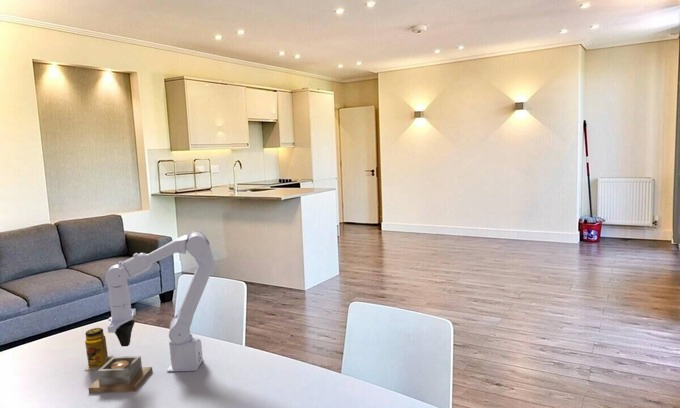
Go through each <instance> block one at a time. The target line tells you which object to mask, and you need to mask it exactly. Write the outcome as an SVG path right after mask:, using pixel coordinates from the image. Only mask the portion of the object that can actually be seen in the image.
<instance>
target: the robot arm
mask: <svg viewBox="0 0 680 408" xmlns="http://www.w3.org/2000/svg"><path fill="white" fill-rule="evenodd" d="M187 252H188V254H190V255H191V256H192V257H193V258H194V259H195V261H196V263H197V267H196V269H195V271H194V274H193V277H192V279H191V281H190V284H189V286H188V289H187V290H186V293H185V296H184V298H183V301H182V303H181V305H180V308H179V310H178V311H177V313H176V315H175V316H174V317H173V318H172V319H171V320H170V322H169V332H168V338H169V339H168V343H169V345H168V346H169V355H170V365H169V367H168V368H167V370H166V372H168V373H169V372H193V371H197V370H198V369H199V367H200V365H201V364H202V363H203V361H205V359H204V357H203V348H202V347H203V346H202V341H201V339H200V338H194V337H193V334H191V331H190V330H191V325H192V323H193V318H194V315H195V313H196V310H197V308H198V305H199V302H200V301H201V297H202V295H203V293H204V291H205V288H206V286H207V283H208V281H209V278H210V276H211V274H212V271H213V269H214V267H215V260H214V256H213V252H212V249H211V244H210V241H209V239H208V237H206V235H205V234H204V233H203V232H202V231H198V230H194V231H191V232H190V233H189V234H184V235H182V236H179V237H177V238H176V239H173V240H172V241H170V242H167V243H166V244H164V245H162V246H160V247H158V248H157V249H155V250H152V251H151V252H150V253H145V252H140V253H138V252H135V253H134V254H133V255H132V257H130V258H128V259H126V260H123V261H122V260H120V261H119V262H118V264H117V263H116V264H114V265H111V266H110V267H109V268H108V270H107V272H106V273H105V278H104V279H105V280H104V281H105V283H107V287H108V292H107V293H108V299H109V305H110V315H111V316H110V317H108V321H109V325H108V326H107V332H108V334H110V333H114V334H115V335H116V337H117V339H118V342H119V344H120V345H121V347H129V346H130V344H131V338H132V337H131V336H132V331H133V328H134V326H135V323H136V322H135V320H133V319H134V316H136V315H137V311H136V308H132V304H131V302H132V301H131V296H130V288H129V286H128V280H130V279H133V278H136V277H137V276H139V275H141V274H143V273H145V272H147V271H149V270H150V269H151V268H152V265H153V264H154V263H156V262H158V261H161V260H163V259H165V258H167V257H169V256H172V255H174V254H176V253H177V254H183V255H184V254H185V255H187Z"/></svg>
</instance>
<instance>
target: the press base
mask: <svg viewBox="0 0 680 408" xmlns="http://www.w3.org/2000/svg"><path fill="white" fill-rule="evenodd" d="M123 360H126V361H128V362H129V365H128V366H127V367H126V368H122V369H111V365H112V364H113V363H115V362H118V361H123ZM142 364H143V363H142V356H141V355H133V356H131V355H129V356H113V357H112V358H111V359H110V360H109V361H108V362H107V363H106V364H104V365H103V366H102V367H101V368H98V370H97V377H98V378H97V379H96V380H95V381H94V382H93V383H92V384H91V385H90V386H89V387H88V388H87V389H88V393H90V394H91V393H93V394H95V393H118V392H119V393H121V392H124V393H125V392H136V391H137V390H138V389H139V388H140V387H141V385H142V384H143V383H144V382H145V381H146V380H147V378H148V377H149V376H150V375H151V374H152V372H153V366H143V365H142Z"/></svg>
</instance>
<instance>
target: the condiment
mask: <svg viewBox="0 0 680 408" xmlns="http://www.w3.org/2000/svg"><path fill="white" fill-rule="evenodd" d="M104 334H105V333H104V329H103V328H101V327H94V328H90V329H88V330H87V331H86V332H85V333H84V335H85V340H84V343H85V349H86V357H87V365H86V368H85V371H91V370H97V369H98V370H99V369H100V368H101V367H102V366H103V365H104V364H106V363H107V362H108V361H109V360H110V359H111V358H112V357H114V355H113V354H112V355H110V356H109V354H108V348H107V347H108V346H107V339H106V336H105V335H104Z"/></svg>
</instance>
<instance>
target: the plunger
mask: <svg viewBox="0 0 680 408" xmlns="http://www.w3.org/2000/svg"><path fill="white" fill-rule="evenodd" d="M128 365H129V362H128V361H126V360H123V361H118V362H115V363H113V364H112V365H111V369H122V368H126V367H127V366H128Z"/></svg>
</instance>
